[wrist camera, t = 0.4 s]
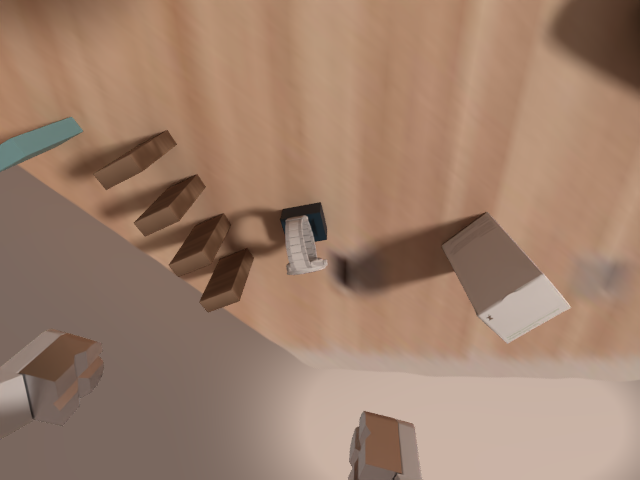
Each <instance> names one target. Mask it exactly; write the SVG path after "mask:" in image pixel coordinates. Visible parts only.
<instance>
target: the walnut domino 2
mask: <svg viewBox="0 0 640 480" xmlns="http://www.w3.org/2000/svg"><path fill="white" fill-rule="evenodd" d="M204 188H205V185H204V184H203V182H202V181H201V179H200V178H199V176H198V175H195V176H193V177H191V178H189V179H187V180H185V181H182V182H180V183H178V184H176V185H174V186H172V187H170V188H168V189H167V190H166V191H165V192H164V193H163V194H162V195H161V196H160V197H159V198H158V199H157V200H156V201H155V202H154V203H153V204H152V205H151V206H150V207H149V208H148V209H147V210H146V211H145V212H144V213H143V214H142V215H141V216H140V217H139V218H138V219H137V220H136V221H135V222H134V224H135V225H136V226H137V228H138V229H139V230H140V231H141V232H142V234H143V235H144V236H147V235H150V234H152V233H154V232H156V231H158V230H161V229H163V228H165V227H167V226H169V225H172V224H174V223H176V222H178V221H180V219H181V218H182V217H183V216H184V214H185V213H186V212H187V210H188V209H189V208H190V207H191V205H192V204H193V203H194V201H195V200H196V199H197V197H198V196H199V195H200V194H201V192H202V191H203V190H204Z"/></svg>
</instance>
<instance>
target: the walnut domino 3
mask: <svg viewBox="0 0 640 480" xmlns="http://www.w3.org/2000/svg"><path fill="white" fill-rule="evenodd" d="M230 226H231V224H230V222H229V221H228V219H227V218H226V216H225V215H224V213H223V214H221V215H219V216H217V217H214V218H212V219H210V220H208V221H205V222H203V223H201V224H199V225H196V226H195V227H194V228H193V230H192V231H191V233H190V234H189V236H188V237H187V239H186V240H185V242H184V243H183V245H182V246H181V248H180V249H179V251H178V252H177V254H176V255H175V257H174V258H173V260H172V261H171V262H170V264H169V266H170V267H171V269H172V270H173V271H174V272H175V274H176V275H177V276H178V277H180V276H182V275H185V274H187V273H190V272H192V271H195V270H197V269H200V268H202V267H205V266H207V265H210V264H212V262H213V260H214V258H215V256H216V254H217V252H218V250H219V248H220V246H221V244H222V242H223V240H224V238H225V236H226V234H227V232H228V230H229V228H230Z"/></svg>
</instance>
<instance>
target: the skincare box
mask: <svg viewBox="0 0 640 480" xmlns="http://www.w3.org/2000/svg"><path fill="white" fill-rule="evenodd" d="M442 248H443V250H444V252H445V254H446V256H447V258H448V260H449V262H450V263H451V265H452V267H453V269H454V271H455V273H456V275H457V277H458V279H459V281H460V282H461V284H462V286H463V288H464V290H465V292H466V294H467V296H468V298H469V300H470V301H471V303H472V305H473V307H474V310H475V312H476V315H477V316H478V317H479V318H480V319H481V320H482V321H483V322H484V323H485V324H486V325H487V326H488V327H490V328H491V329H492V330H493V331H494V332H495V333H496V334H497V335H498V336H500V337H501V338H502V339H503V340H504V341H505V342H506V343H507V344H508V343H509V342H511V341H513V340H515V339H516V338H518V337H520V336H522V335H523V334H525V333H527V332H529V331H530V330H532V329H534V328H536V327H537V326H539V325H541V324H543V323H544V322H546V321H548V320H550V319H551V318H553V317H555V316H557V315H559V314H560V313H562V312H564V311H566V310H568V309H569V308H571V307H570V305H569V304H568V302H567V301H566V300H565V299H564V297H563V296H562V295H561V294H560V292H559V291H558V290H557V289H556V288H555V286H554V285H553V284H552V283H551V282H550V280H549V279H548V278H547V277H546V276H545V275H544V274H543V272H542V271H541V270H540V269H539V268H538V267H537V266H536V265H535V264H534V262H533V261H532V260H531V259H530V258H529V257H528V256H527V255H526V253H525V252H524V251H523V250H522V249H521V248H520V247H519V246H518V245H517V244H516V242H515V241H514V240H513V239H512V238H511V237H510V236H509V235H508V233H507V232H506V231H505V230H504V229H503V228H502V227H501V226H500V225H499V224H498V222H497V221H496V220H495V219H494V218H493V217H492V216H491V215H490V214H489V213H488V212H487V213H485V214H484V215H483V216H481V217H480V218H479V219H477V220H476V221H474V222H473V223H472V224H470V225H469V226H468V227H466V228H465V229H463V230H462V231H461V232H459V233H458V234H457V235H455V236H454V237H453V238H451V239H450V240H448V241H447V242H446V243H444V244H443V245H442Z"/></svg>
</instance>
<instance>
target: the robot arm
mask: <svg viewBox="0 0 640 480" xmlns="http://www.w3.org/2000/svg"><path fill="white" fill-rule="evenodd" d="M102 352H103V349H102V343H100V342H97V341H93V340H90V339H86V338H83V337H80V336H76V335H73V334H69V333H66V332H62V331H58V330H55V329H49V330H46V331H44V332H43V333H42V334H40V335H39V336H38V337H37V338H36V339H34V340H33V341H32V342H31V343H29V344H28V345H27V346H26V347H25V348H23V349H22V350H21V351H20V352H18V353H17V354H16V355H15V356H14V357H12V358H11V359H10V360H8V361H7V362H6V363H5V364H4V365H2V366H1V367H0V440H1V439H2V438H4V437H6V436H8V435H9V434H11V433H13V432H15V431H16V430H18V429H20V428H21V427H23V426H25V425H27V424H28V423H30V422H32V419H34V420H38V421H42V422H46V423H51V424H55V425H60V426H63V425H64V424H65V422H67V420H68V419H69V418H70V417H71V415H72V414H73V413H74V412H75V411H76V410H77V408H78V407H79V406H80V398H81V397H84V396H86V395H88V394H90V393H91V392H92V391H93V390H94V388H95V387H96V386H97V385H98V383H99V381H100V379H101V377H102V374H103V370H104V362H103V361H102V360H101V358H100V357H99V355H100V354H101V353H102ZM349 462H350V464H351V466H352V470H351V473H350V475H349V477H348V480H422V477H421V470H420V462H419V455H418V447H417V440H416V433H415V427H414V425H413V424H412V423H408V422H405V421H401V420H396V419H394V418H391V417H386V416H383V415H378V414H374V413H370V412H366V411H364V412H363V413H362V414H361V417H360V424H359V427H357V428H356V429H355V431H354V434H353V437H352V442H351V447H350V458H349Z"/></svg>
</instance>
